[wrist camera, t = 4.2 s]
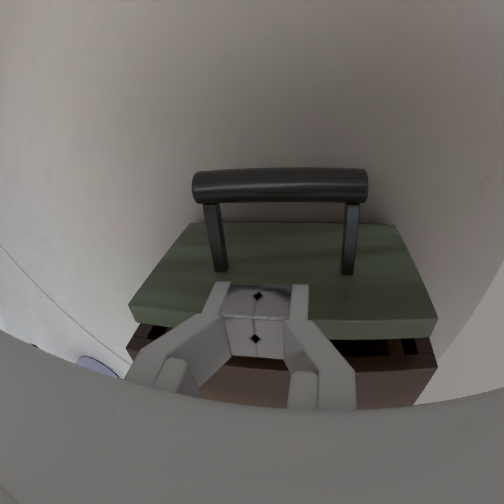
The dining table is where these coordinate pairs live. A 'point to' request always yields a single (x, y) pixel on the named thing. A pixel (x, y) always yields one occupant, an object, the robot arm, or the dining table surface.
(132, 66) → the dining table surface
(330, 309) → the drawer
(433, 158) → the dining table surface
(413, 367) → the cabinet
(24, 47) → the dining table surface
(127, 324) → the dining table surface
